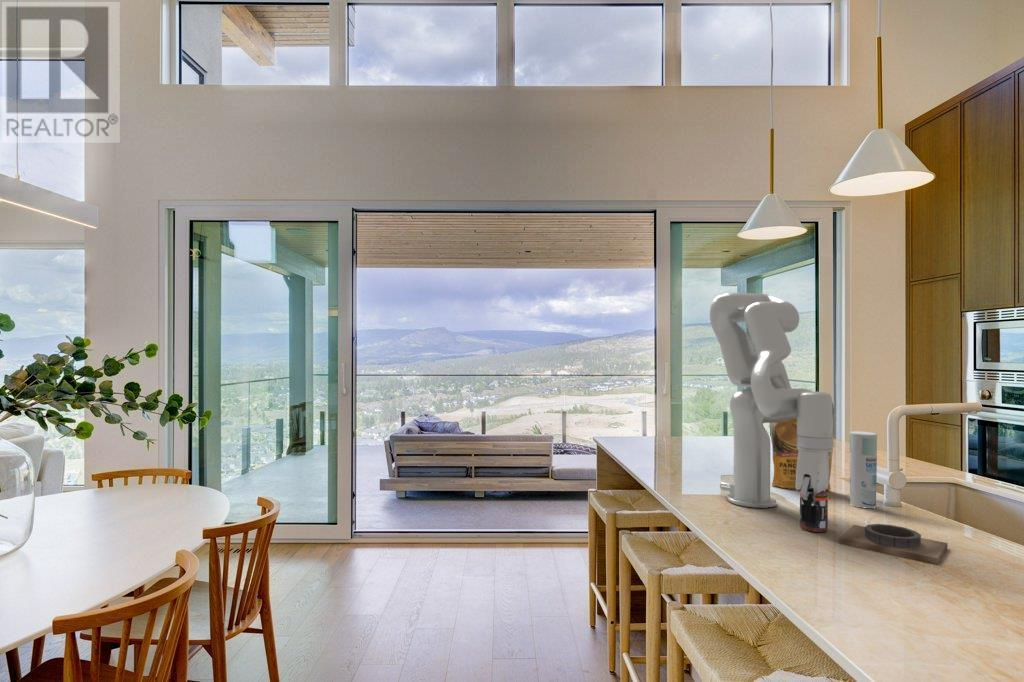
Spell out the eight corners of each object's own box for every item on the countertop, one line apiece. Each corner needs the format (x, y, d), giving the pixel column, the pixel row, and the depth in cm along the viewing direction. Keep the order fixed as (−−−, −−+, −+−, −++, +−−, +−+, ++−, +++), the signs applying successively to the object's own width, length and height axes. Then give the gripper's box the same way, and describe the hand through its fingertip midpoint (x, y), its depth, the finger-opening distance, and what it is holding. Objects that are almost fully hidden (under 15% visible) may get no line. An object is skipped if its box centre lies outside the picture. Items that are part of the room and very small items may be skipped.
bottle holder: (838, 542, 130) (838, 528, 130) (853, 529, 139) (853, 516, 139) (937, 564, 117) (937, 548, 117) (947, 548, 127) (947, 533, 127)
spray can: (866, 510, 156) (866, 435, 157) (843, 503, 162) (844, 431, 162) (882, 507, 159) (882, 434, 159) (859, 501, 165) (859, 430, 165)
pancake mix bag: (765, 482, 187) (766, 395, 187) (832, 488, 180) (833, 397, 181) (767, 487, 180) (768, 397, 180) (837, 493, 174) (837, 399, 174)
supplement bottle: (831, 534, 136) (831, 485, 136) (803, 532, 137) (803, 484, 137) (823, 526, 142) (823, 479, 142) (796, 524, 143) (796, 478, 143)
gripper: (808, 437, 148) (808, 508, 148) (784, 445, 136) (784, 523, 136) (841, 441, 143) (841, 515, 143) (820, 449, 131) (819, 530, 130)
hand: (813, 518), depth 139 cm, fingers closed on supplement bottle, 6 cm apart
